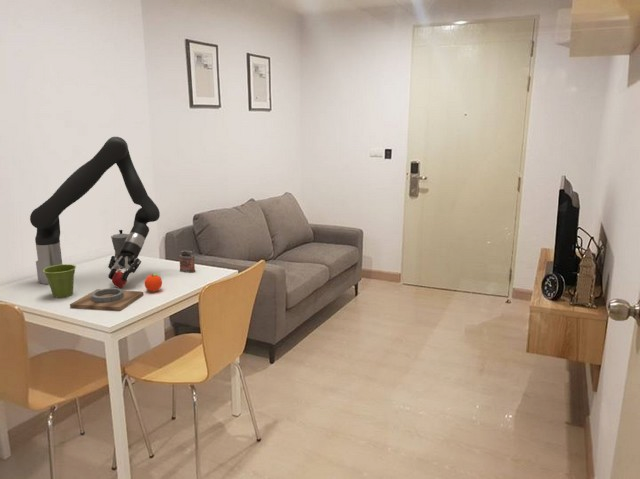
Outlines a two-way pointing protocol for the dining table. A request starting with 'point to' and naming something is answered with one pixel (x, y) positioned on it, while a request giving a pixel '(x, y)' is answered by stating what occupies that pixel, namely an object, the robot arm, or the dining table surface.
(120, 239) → the coffeepot
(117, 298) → the ring
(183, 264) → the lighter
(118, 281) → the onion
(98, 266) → the dining table surface
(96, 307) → the board
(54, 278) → the plant pot
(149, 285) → the clementine
